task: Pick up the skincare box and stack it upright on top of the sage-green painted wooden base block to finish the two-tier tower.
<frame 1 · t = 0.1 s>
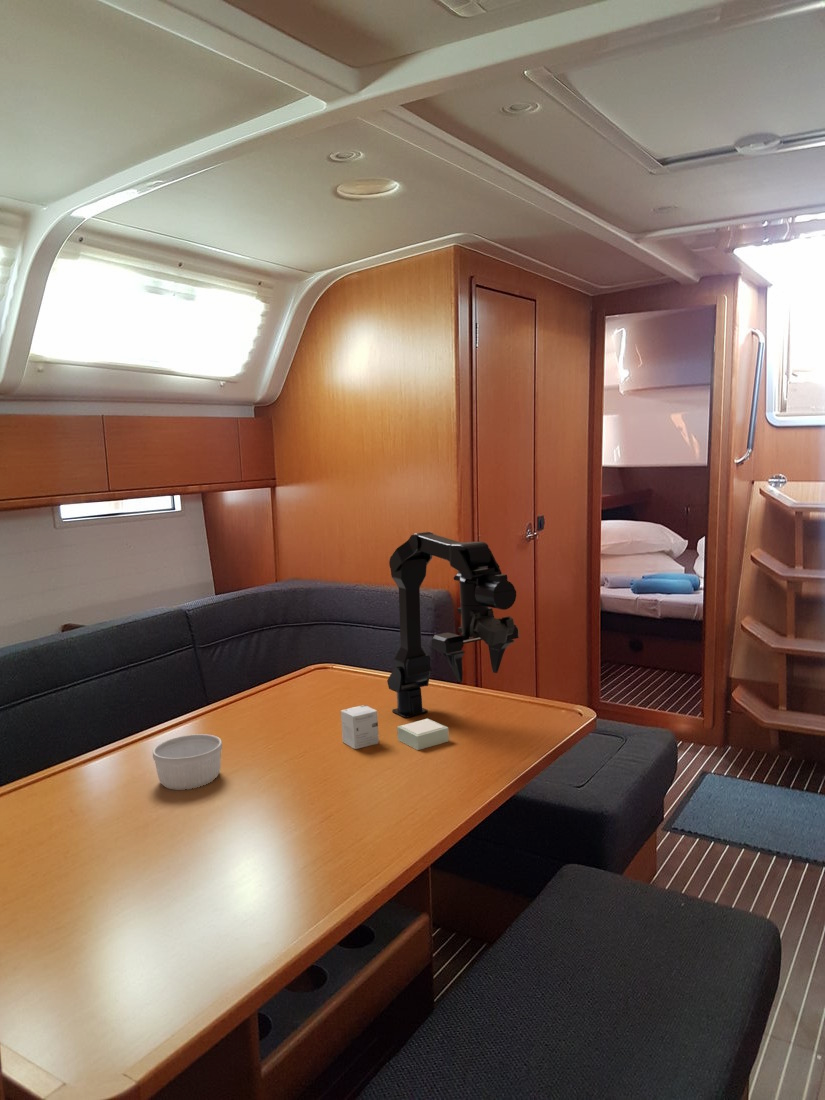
hand: (477, 677, 159), 15 cm above the table, fingers open, 9 cm apart
ramekin: (190, 780, 152), on the table
base block: (423, 740, 165), on the table
skincare box: (360, 743, 166), on the table
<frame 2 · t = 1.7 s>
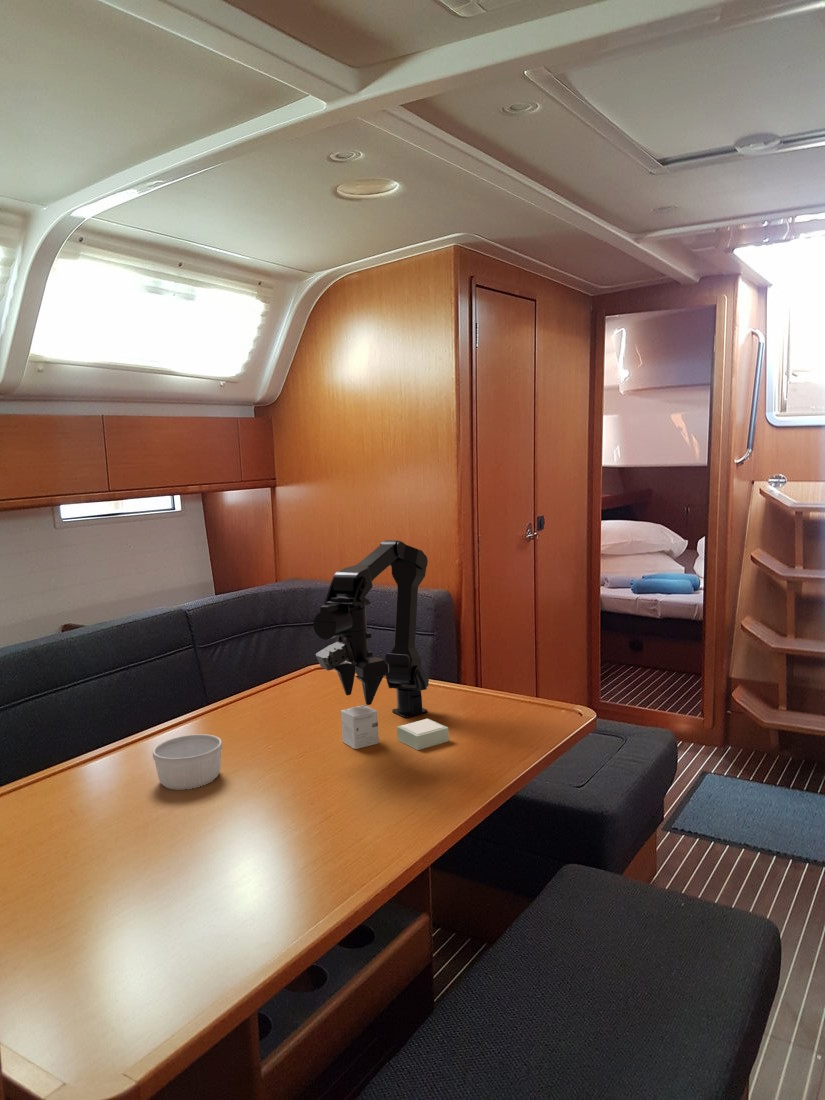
hand: (358, 699, 165), 10 cm above the table, fingers open, 9 cm apart
nothing on the table moved.
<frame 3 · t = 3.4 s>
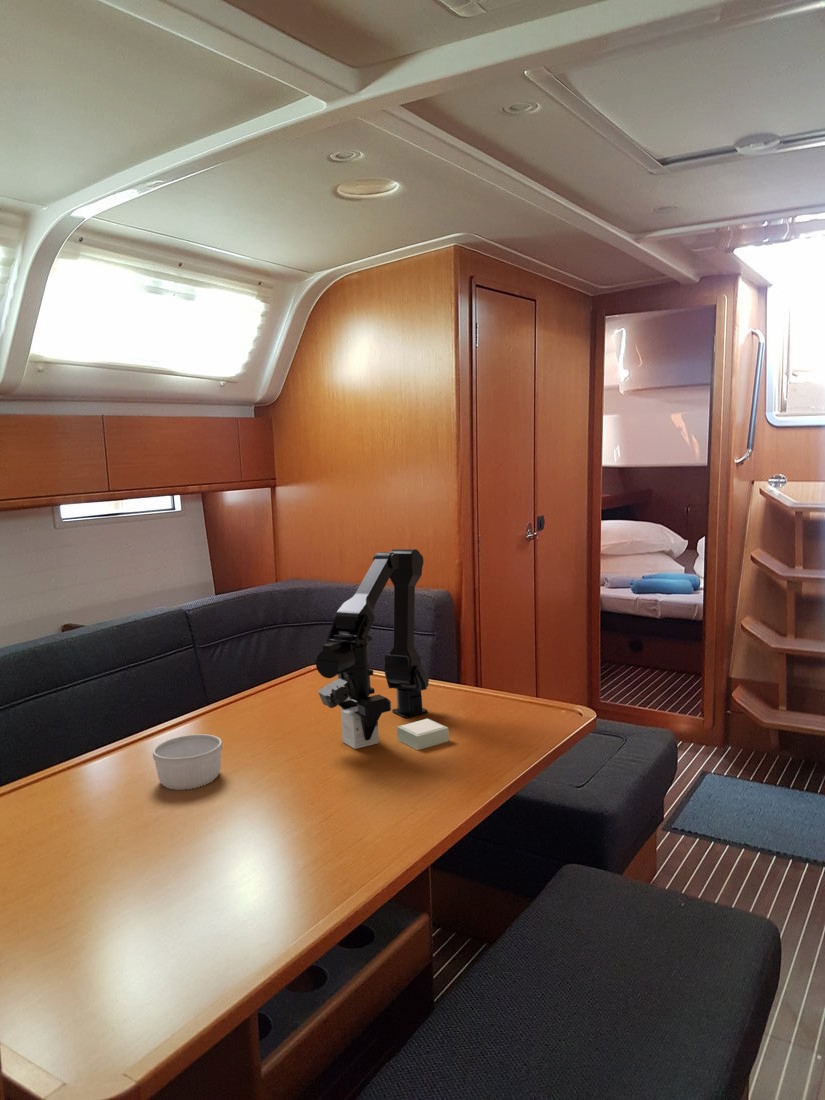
hand: (360, 735, 166), 2 cm above the table, fingers closed on skincare box, 6 cm apart
skincare box: (360, 743, 166), on the table, touching gripper
everything else where it was.
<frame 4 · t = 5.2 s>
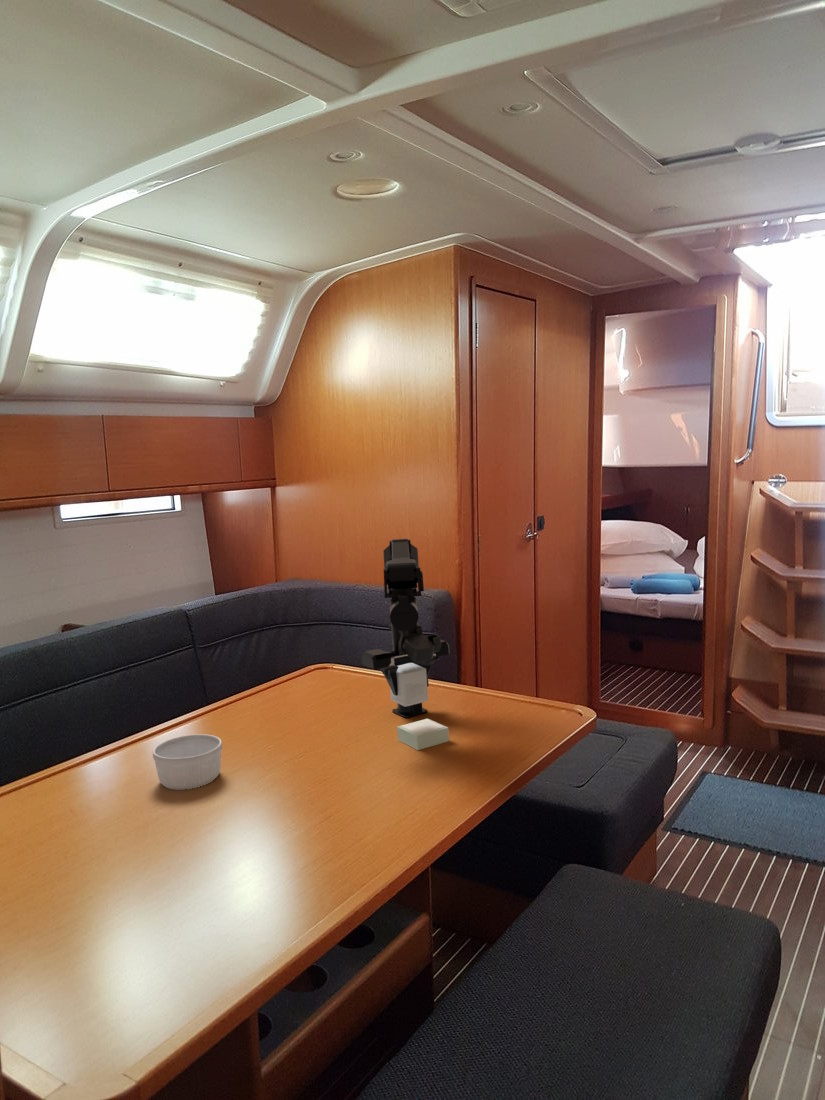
hand: (408, 692, 164), 11 cm above the table, fingers closed on skincare box, 6 cm apart
skincare box: (409, 701, 164), point 9 cm above the table, touching gripper
everything else where it was.
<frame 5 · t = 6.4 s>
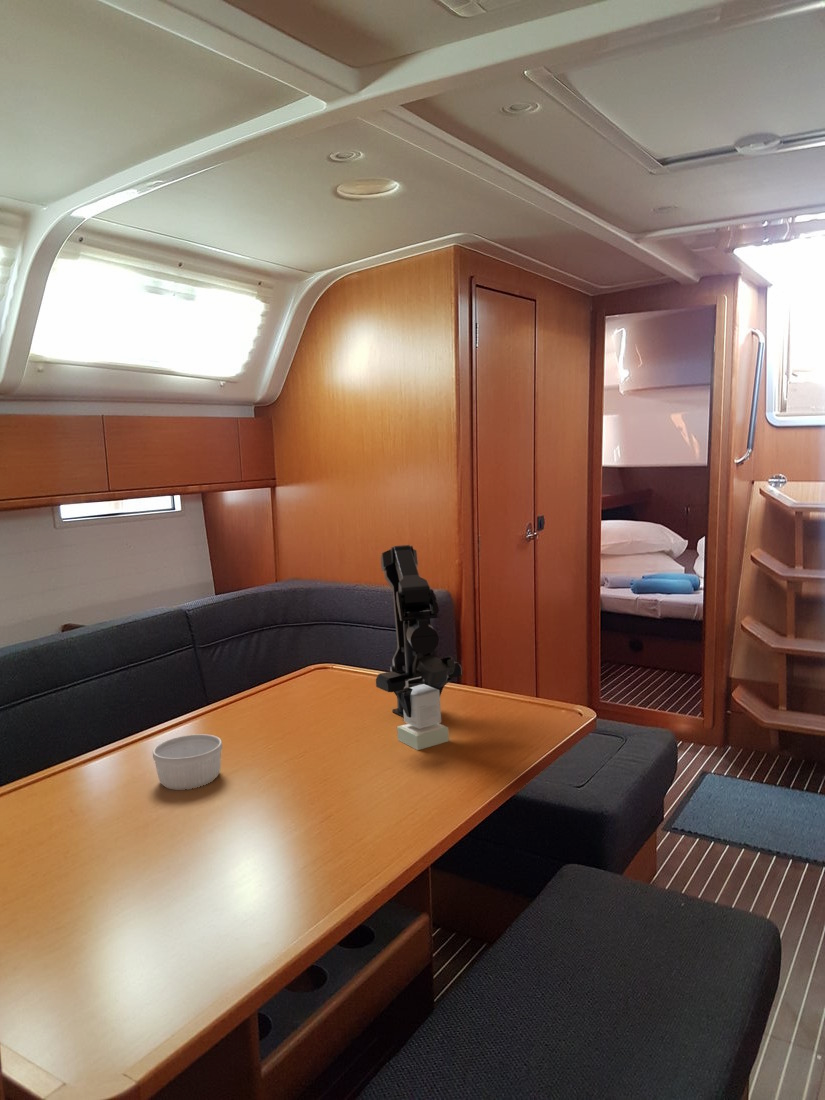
hand: (421, 713, 165), 6 cm above the table, fingers closed on skincare box, 6 cm apart
skincare box: (422, 723, 165), point 4 cm above the table, touching gripper
everything else where it was.
when the fingers open (6 cm above the table, at t = 7.1 s): skincare box stays where it is, resting on base block.
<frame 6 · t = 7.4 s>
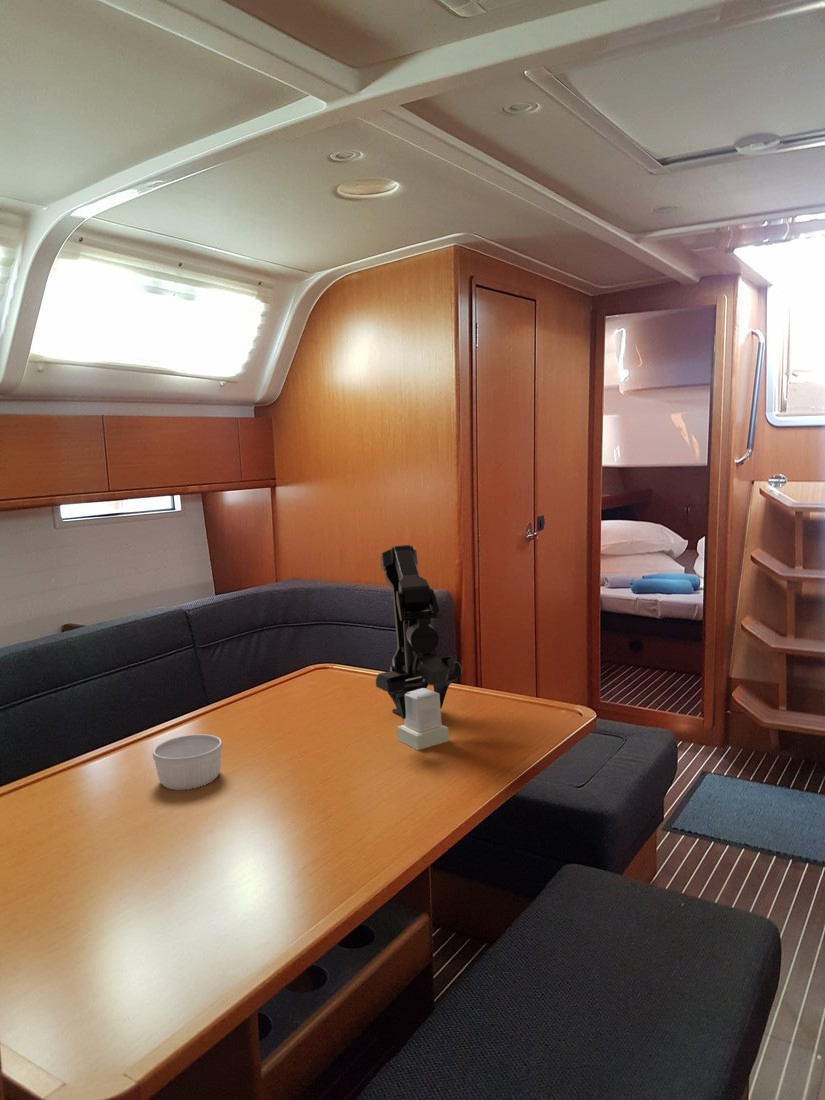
hand: (421, 713, 165), 6 cm above the table, fingers open, 9 cm apart
skincare box: (422, 727, 165), point 3 cm above the table, touching base block
everything else where it was.
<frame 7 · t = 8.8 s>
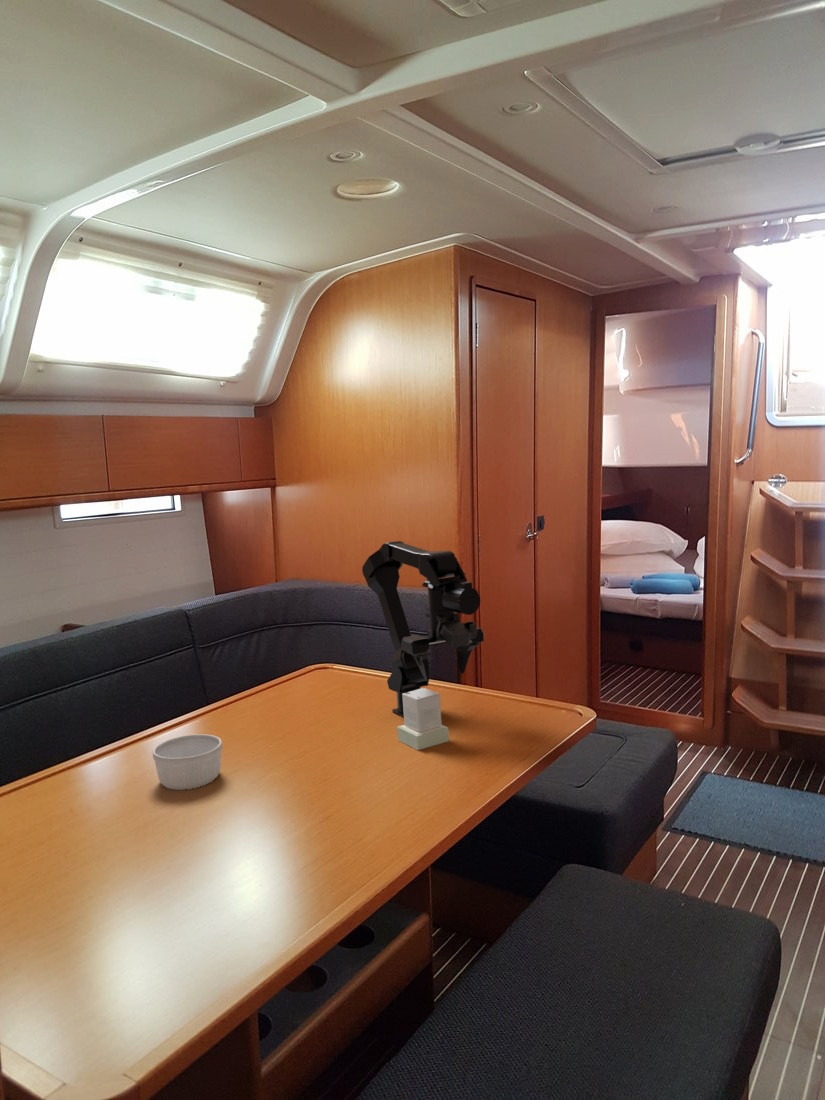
hand: (444, 676, 171), 12 cm above the table, fingers open, 9 cm apart
nothing on the table moved.
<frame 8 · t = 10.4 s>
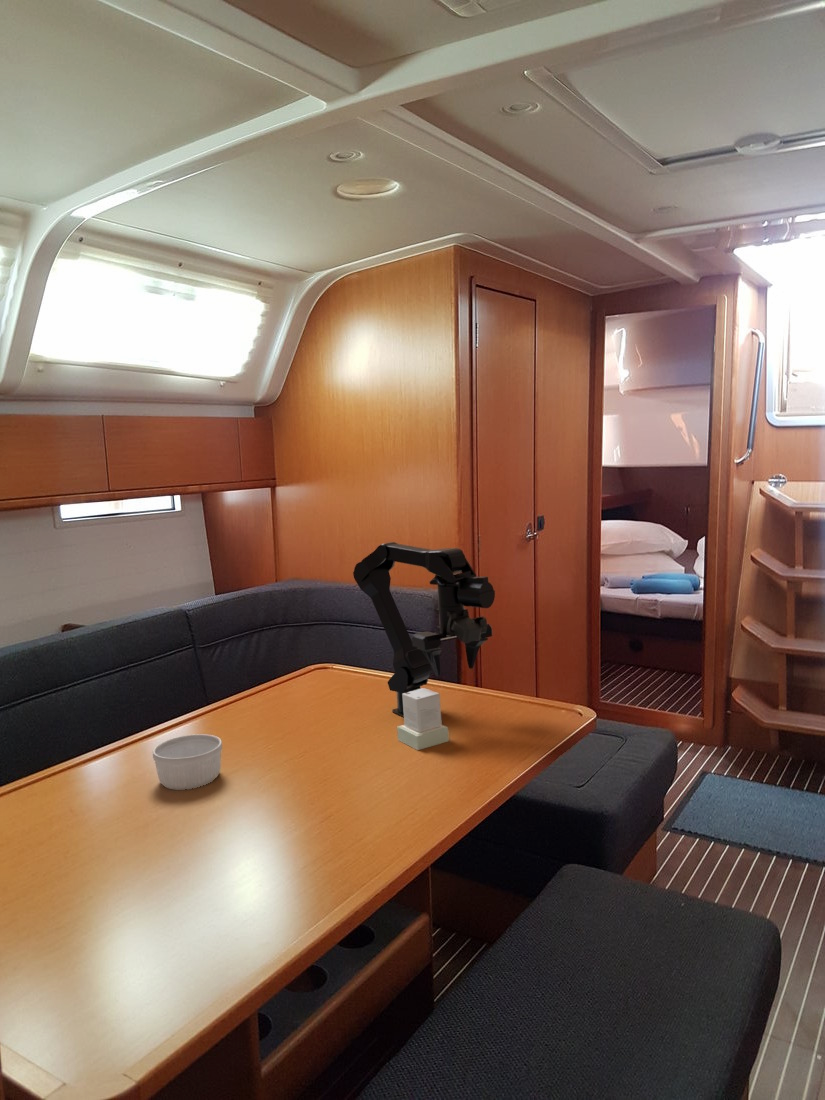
hand: (454, 672, 174), 12 cm above the table, fingers open, 9 cm apart
nothing on the table moved.
at the end: skincare box inside the target area on the base block (0.1 cm from its centre), point 2.9 cm above the base block's base; skincare box tilted 0°; the gripper is holding nothing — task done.
